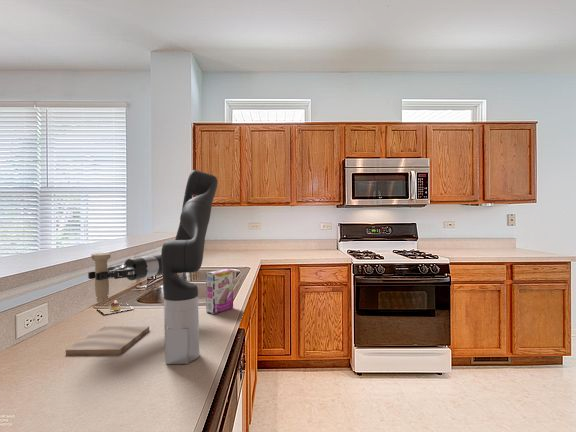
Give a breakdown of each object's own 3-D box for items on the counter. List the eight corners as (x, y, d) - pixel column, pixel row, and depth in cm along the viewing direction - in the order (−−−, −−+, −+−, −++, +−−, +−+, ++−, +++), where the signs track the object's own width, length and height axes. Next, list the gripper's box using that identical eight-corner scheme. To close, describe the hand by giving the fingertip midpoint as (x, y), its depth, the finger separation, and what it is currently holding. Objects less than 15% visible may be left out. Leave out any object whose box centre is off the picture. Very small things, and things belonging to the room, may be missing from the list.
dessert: (95, 311, 148) (95, 299, 148) (125, 305, 156) (125, 294, 156) (103, 317, 139) (103, 305, 139) (134, 311, 147) (134, 299, 147)
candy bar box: (214, 314, 138) (213, 273, 138) (205, 312, 141) (205, 272, 141) (234, 308, 147) (233, 269, 147) (226, 306, 150) (225, 268, 150)
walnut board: (119, 354, 101) (119, 349, 101) (65, 354, 101) (65, 349, 101) (149, 330, 121) (149, 326, 121) (103, 330, 121) (103, 326, 121)
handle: (105, 298, 114) (103, 252, 113) (115, 301, 110) (113, 253, 109) (89, 301, 110) (88, 254, 109) (99, 304, 106) (97, 255, 106)
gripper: (129, 255, 125) (79, 262, 111) (154, 258, 118) (105, 265, 103) (129, 276, 126) (80, 286, 111) (155, 280, 118) (106, 290, 103)
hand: (92, 276), depth 107 cm, fingers closed on handle, 3 cm apart
